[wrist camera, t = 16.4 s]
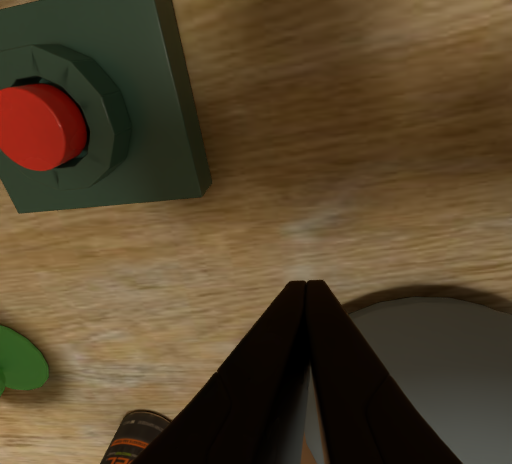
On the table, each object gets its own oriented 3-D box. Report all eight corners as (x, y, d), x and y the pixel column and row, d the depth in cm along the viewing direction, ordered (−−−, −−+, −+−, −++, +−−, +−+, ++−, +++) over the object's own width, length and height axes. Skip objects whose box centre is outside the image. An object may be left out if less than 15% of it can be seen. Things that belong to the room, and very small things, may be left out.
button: (69, 77, 15) (42, 81, 14) (99, 156, 17) (77, 167, 15) (2, 89, 16) (-31, 94, 14) (37, 163, 18) (11, 175, 16)
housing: (167, -19, 16) (127, -35, 13) (212, 183, 21) (192, 212, 17) (-39, 29, 19) (-120, 26, 15) (42, 199, 23) (-6, 227, 20)
